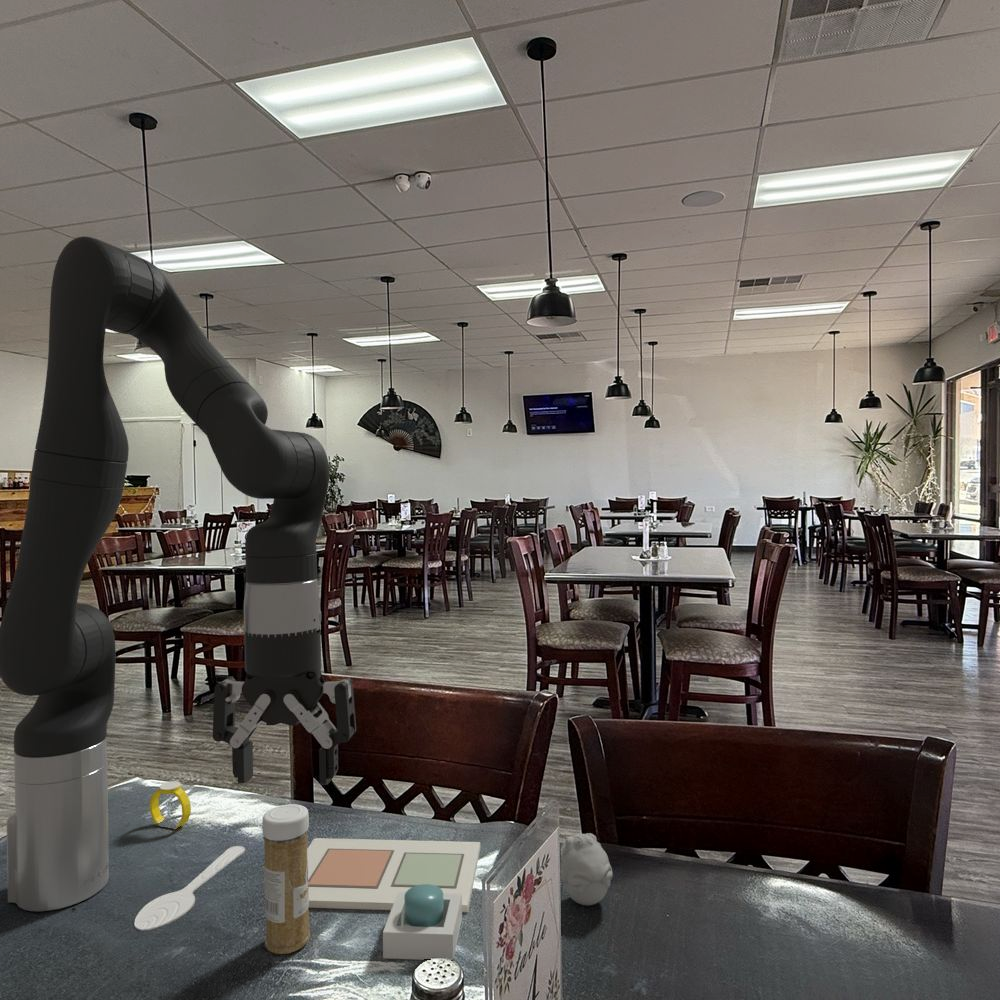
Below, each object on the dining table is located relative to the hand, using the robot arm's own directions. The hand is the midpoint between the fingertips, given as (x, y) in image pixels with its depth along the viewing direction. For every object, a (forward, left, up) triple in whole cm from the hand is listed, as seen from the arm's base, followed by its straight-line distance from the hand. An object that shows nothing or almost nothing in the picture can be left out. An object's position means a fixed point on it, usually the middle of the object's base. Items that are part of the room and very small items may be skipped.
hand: (286, 781), depth 72 cm
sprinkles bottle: (0, 0, -17) cm, 17 cm away
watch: (-26, +24, -17) cm, 39 cm away
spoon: (-15, +10, -17) cm, 25 cm away
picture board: (+7, +13, -17) cm, 22 cm away
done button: (+14, +1, -14) cm, 20 cm away
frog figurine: (+31, +9, -17) cm, 36 cm away
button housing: (+14, +1, -17) cm, 22 cm away
